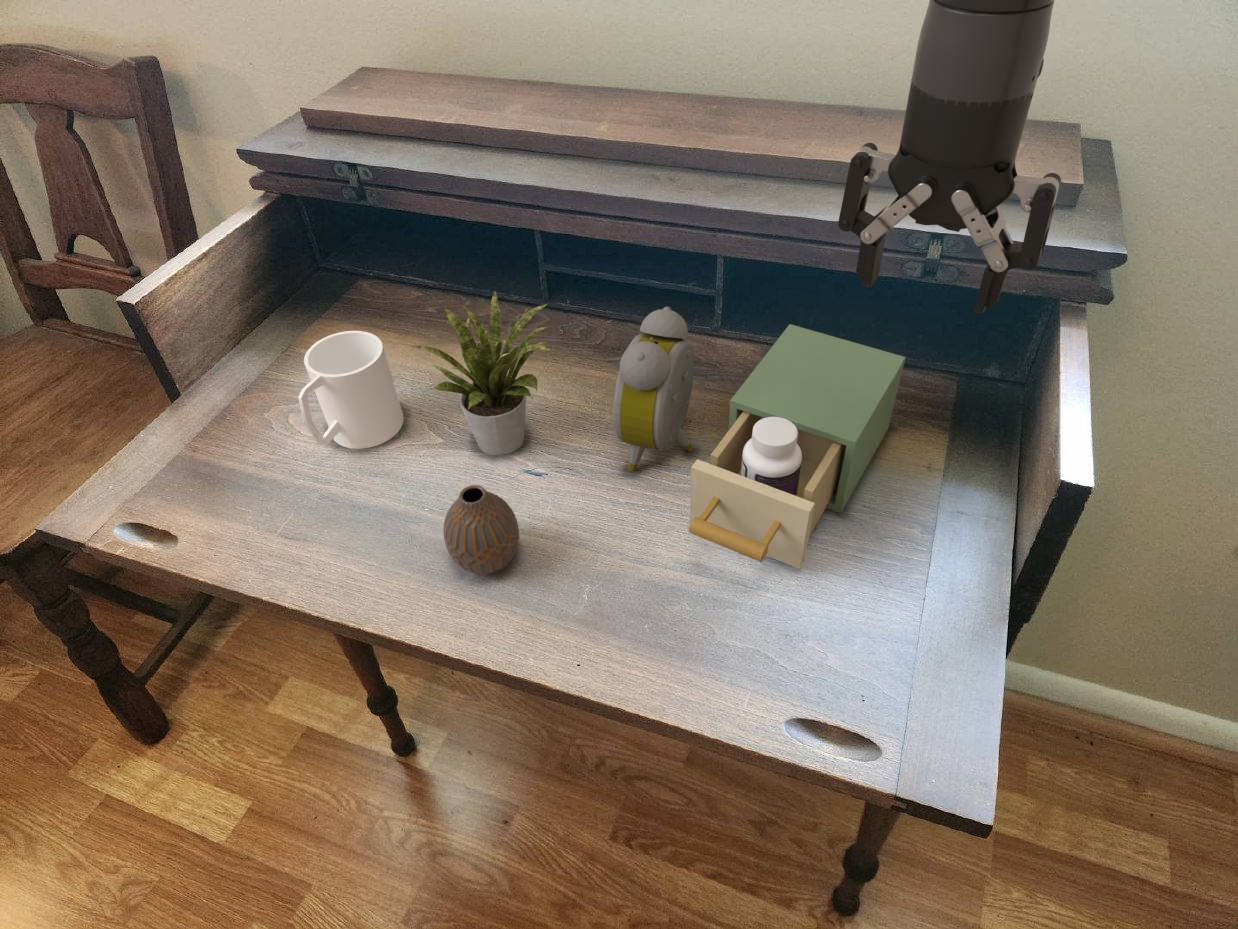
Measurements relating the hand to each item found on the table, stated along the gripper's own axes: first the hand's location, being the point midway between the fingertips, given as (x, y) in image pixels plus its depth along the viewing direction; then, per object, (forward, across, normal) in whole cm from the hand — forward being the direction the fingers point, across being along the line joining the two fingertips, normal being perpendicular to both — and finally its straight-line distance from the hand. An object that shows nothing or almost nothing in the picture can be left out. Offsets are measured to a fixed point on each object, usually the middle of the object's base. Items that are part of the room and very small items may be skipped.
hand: (924, 294), depth 64 cm
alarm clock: (+25, -23, -1) cm, 34 cm away
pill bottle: (+23, -9, -6) cm, 26 cm away
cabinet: (+25, -9, +6) cm, 27 cm away
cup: (+24, -54, -16) cm, 62 cm away
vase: (+25, -30, -23) cm, 45 cm away
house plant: (+25, -38, -8) cm, 46 cm away
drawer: (+24, -9, -6) cm, 26 cm away
